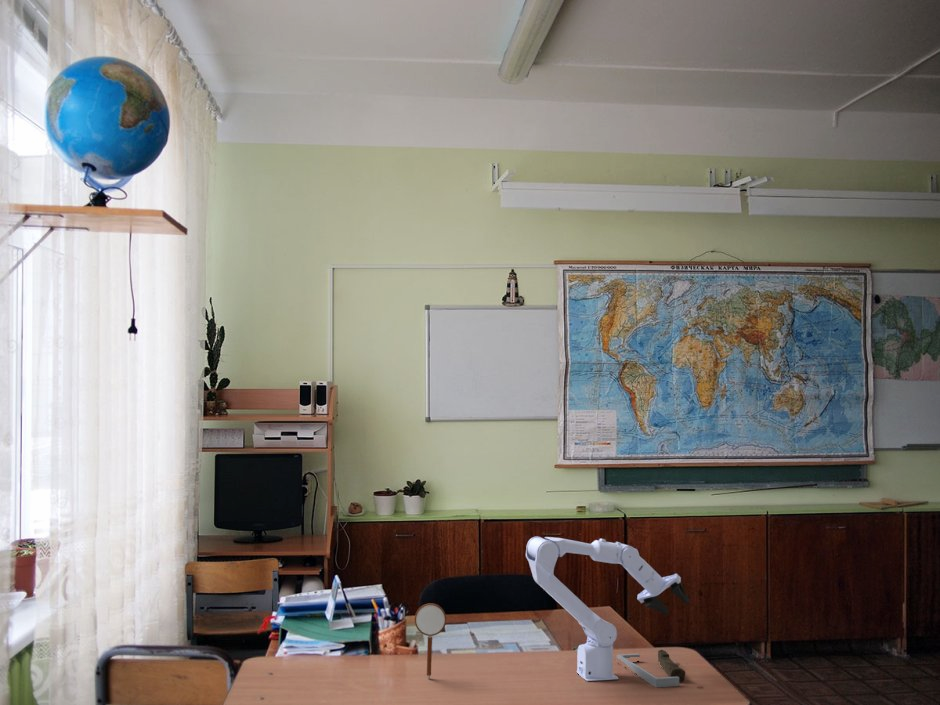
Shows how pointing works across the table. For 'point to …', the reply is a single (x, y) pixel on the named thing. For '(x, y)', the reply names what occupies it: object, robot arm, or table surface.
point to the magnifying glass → (430, 626)
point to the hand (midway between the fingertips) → (677, 607)
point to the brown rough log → (670, 666)
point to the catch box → (648, 676)
